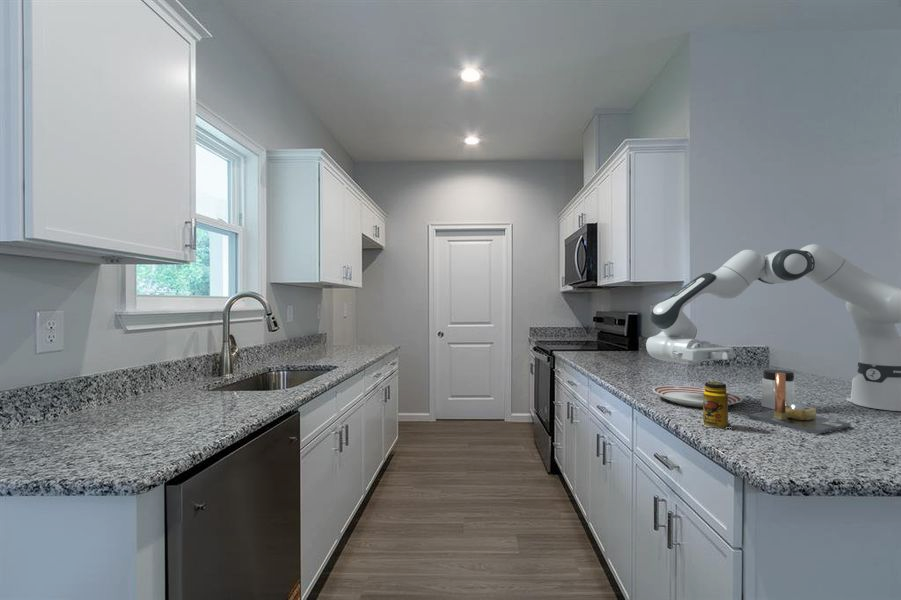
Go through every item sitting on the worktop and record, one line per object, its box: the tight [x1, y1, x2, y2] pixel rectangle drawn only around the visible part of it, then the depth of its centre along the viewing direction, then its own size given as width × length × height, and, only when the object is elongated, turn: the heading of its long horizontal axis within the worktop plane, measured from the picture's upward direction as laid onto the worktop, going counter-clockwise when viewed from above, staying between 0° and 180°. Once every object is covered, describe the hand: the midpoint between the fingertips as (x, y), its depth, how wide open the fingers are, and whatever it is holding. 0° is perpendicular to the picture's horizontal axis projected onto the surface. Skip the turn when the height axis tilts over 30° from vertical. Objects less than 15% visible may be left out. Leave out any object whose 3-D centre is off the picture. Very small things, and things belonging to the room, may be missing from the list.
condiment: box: [700, 381, 733, 430], centre depth 128 cm, size 7×8×12 cm
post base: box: [748, 402, 852, 435], centre depth 130 cm, size 17×18×5 cm
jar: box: [761, 369, 796, 410], centre depth 148 cm, size 9×8×12 cm
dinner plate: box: [652, 385, 743, 408], centre depth 157 cm, size 28×27×3 cm
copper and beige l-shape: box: [774, 373, 817, 420], centre depth 130 cm, size 14×7×13 cm, turn 116°
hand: (730, 356), depth 141 cm, fingers closed
